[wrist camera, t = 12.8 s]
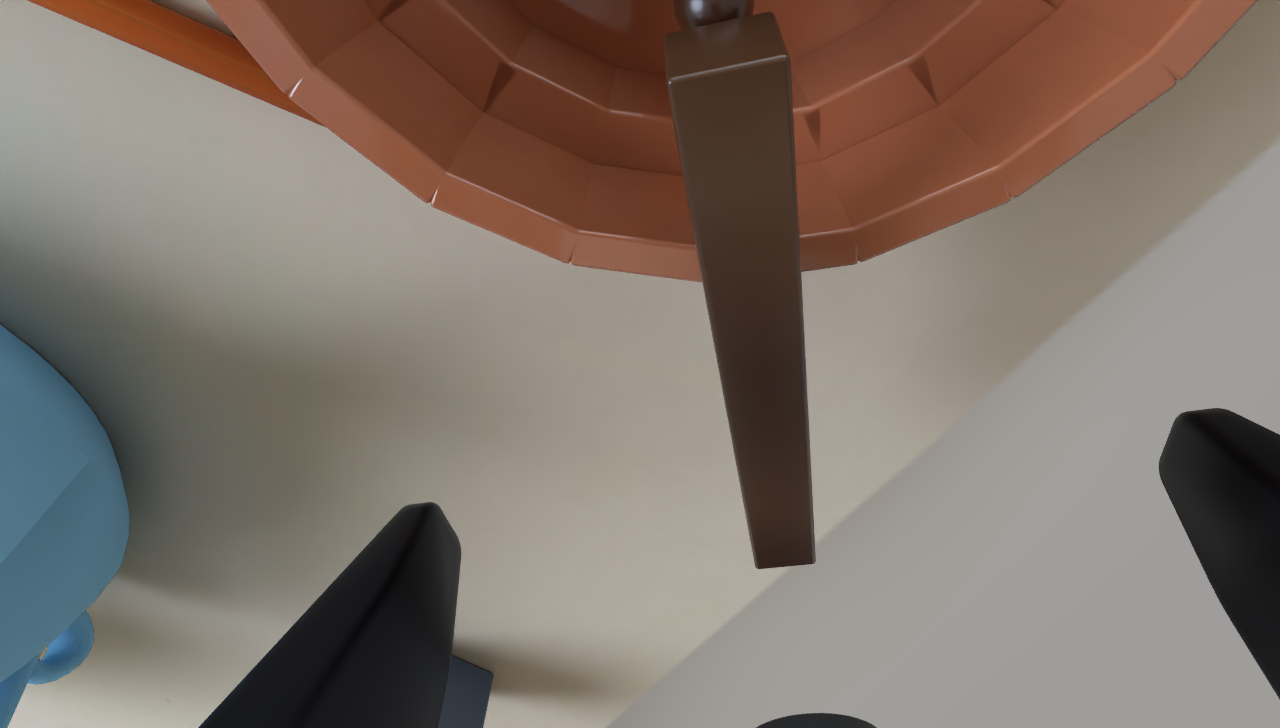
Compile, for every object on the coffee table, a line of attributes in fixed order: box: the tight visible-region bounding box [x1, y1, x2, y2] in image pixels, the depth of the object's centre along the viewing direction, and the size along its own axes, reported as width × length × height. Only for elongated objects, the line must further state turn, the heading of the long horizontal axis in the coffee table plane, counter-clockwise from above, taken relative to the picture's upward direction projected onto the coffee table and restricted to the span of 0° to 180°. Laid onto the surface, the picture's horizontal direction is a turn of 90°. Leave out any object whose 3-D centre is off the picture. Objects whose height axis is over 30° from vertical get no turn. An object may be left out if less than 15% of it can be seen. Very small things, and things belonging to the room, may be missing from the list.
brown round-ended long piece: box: [664, 0, 816, 569], centre depth 11 cm, size 14×4×7 cm, turn 12°
